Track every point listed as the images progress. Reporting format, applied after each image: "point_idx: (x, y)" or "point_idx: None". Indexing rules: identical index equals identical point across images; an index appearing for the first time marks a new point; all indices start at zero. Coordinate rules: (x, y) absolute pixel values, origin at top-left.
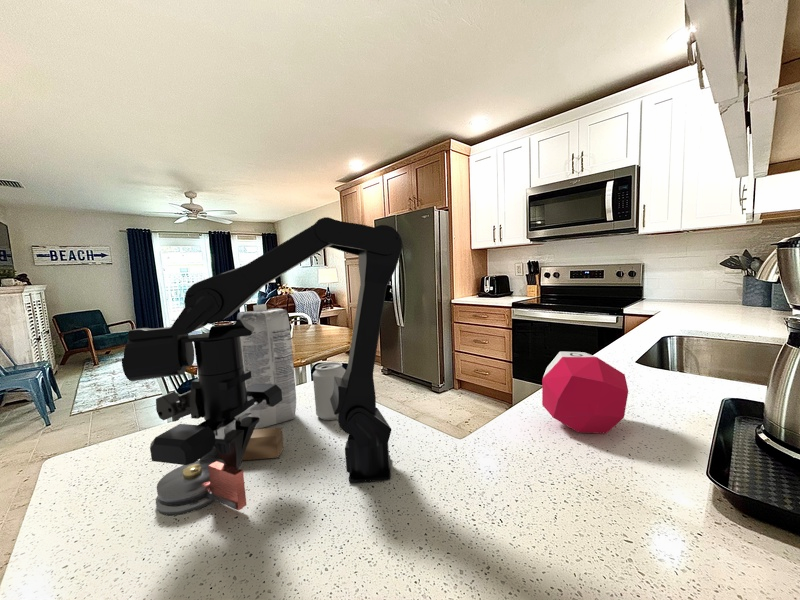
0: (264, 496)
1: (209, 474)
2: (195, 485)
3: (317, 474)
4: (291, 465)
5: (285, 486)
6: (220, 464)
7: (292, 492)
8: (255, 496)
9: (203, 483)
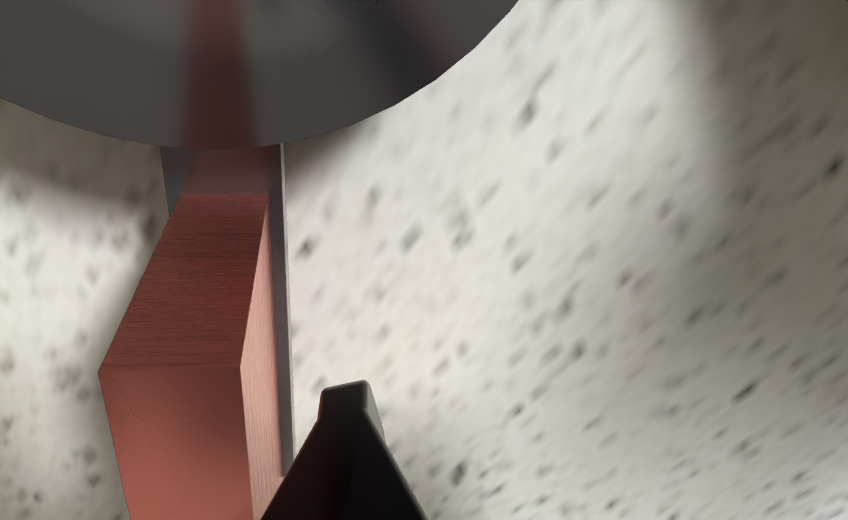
0: (440, 387)
1: (137, 290)
2: (58, 39)
3: (702, 481)
4: (789, 281)
5: (561, 417)
6: (219, 479)
7: (523, 485)
8: (419, 339)
9: (138, 106)
